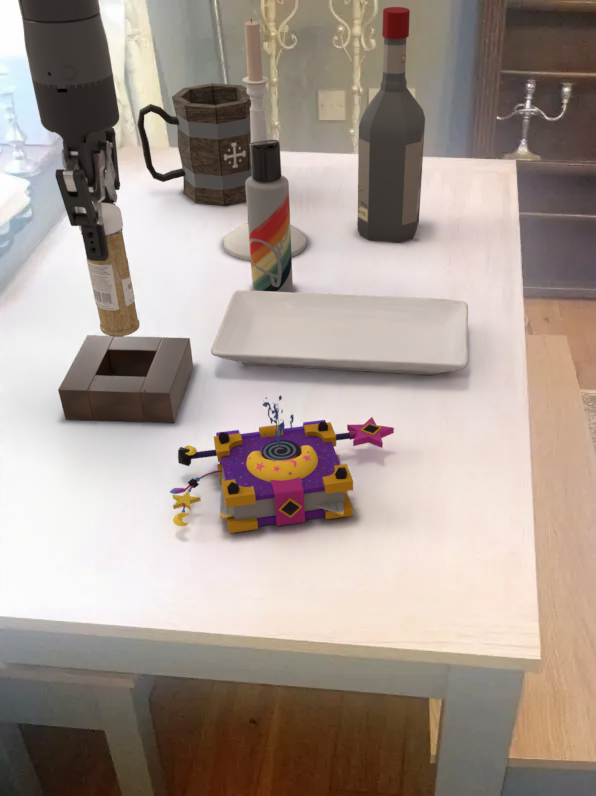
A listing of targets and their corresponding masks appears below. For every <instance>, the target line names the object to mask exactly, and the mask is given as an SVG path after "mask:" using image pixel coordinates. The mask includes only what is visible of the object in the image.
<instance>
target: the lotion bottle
mask: <svg viewBox="0 0 596 796" xmlns="http://www.w3.org/2000/svg"><path fill="white" fill-rule="evenodd" d="M280 144H281V143H280V141H279V140H278V139H267V140H266V141H260V142H253V143H250V157H251V175H252V176H251V177H249V178H248V179H247V180H246V183H245V186H246V201H245V202H246V213H247V223H248V229H249V243H250V257H251V261H250V269H251V282H252V283H251V284H252V290H253V291H272V292H292V291H293V286H294V285H293V259H292V258H293V256H292V255H291V230H290V225H291V208H290V206H291V205H290V187H289V179H288V178H287V177H286V176H284V175H283V174H282V164H281V163H282V161H281V145H280Z"/></svg>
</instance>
